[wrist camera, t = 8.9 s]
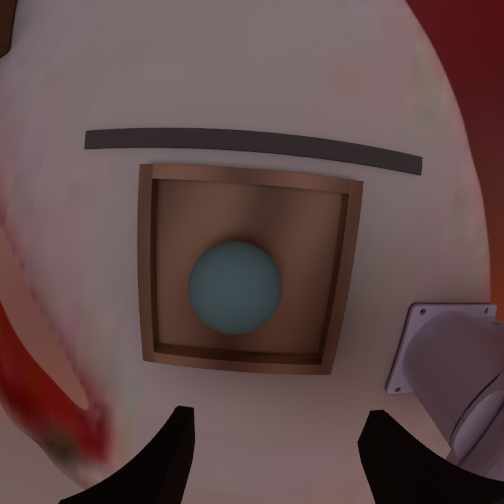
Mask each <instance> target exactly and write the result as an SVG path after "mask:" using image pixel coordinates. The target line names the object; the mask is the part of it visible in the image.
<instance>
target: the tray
mask: <svg viewBox="0 0 504 504" xmlns="http://www.w3.org/2000/svg"><path fill="white" fill-rule="evenodd" d="M362 192H363V181H356V180H349V179H341V178H334V177H326V176H318V175H309V174H300V173H290V172H280V171H269V170H257V169H245V168H230V167H213V166H192V165H161V164H140V171H139V191H138V230H137V252H138V291H139V311H140V326H141V339H142V351H143V361H149V362H156V363H163V364H170V365H178V366H186V367H195V368H204V369H214V370H225V371H238V372H253V373H272V374H309V375H330V374H331V370H332V366H333V362H334V358H335V353H336V349H337V345H338V340H339V336H340V331H341V326H342V321H343V316H344V311H345V306H346V301H347V296H348V290H349V285H350V279H351V273H352V267H353V261H354V254H355V247H356V240H357V233H358V226H359V218H360V210H361V201H362ZM227 241H242V242H247V243H250V244H253V245H255V246H257V247H259V248H260V249H262V250H263V251H265V252H266V253H267V254H268V255H269V256H270V257H271V258H272V260H273V261H274V263H275V264H276V266H277V268H278V271H279V273H280V277H281V282H282V294H281V299H280V302H279V305H278V307H277V309H276V311H275V313H274V314H273V316H272V317H271V318H270V319H269V320H268V321H267V322H266V323H265V324H264V325H263V326H261V327H259V328H258V329H256V330H254V331H251V332H248V333H244V334H226V333H222V332H219V331H217V330H215V329H212V328H211V327H209V326H208V325H206V324H205V323H204V322H203V321H202V320H201V319H200V318H199V317H198V315H197V314H196V312H195V311H194V309H193V307H192V304H191V301H190V298H189V292H188V284H189V277H190V273H191V271H192V268H193V266H194V264H195V263H196V261H197V260H198V258H199V257H200V256H201V255H202V254H203V253H204V252H205V251H207V250H208V249H209V248H211V247H213V246H215V245H217V244H220V243H223V242H227Z"/></svg>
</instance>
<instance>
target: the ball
mask: <svg viewBox="0 0 504 504" xmlns="http://www.w3.org/2000/svg"><path fill="white" fill-rule="evenodd" d="M188 292H189V298H190V301H191V304H192V307H193V309H194V311H195V312H196V314H197V315H198V317H199V318H200V319H201V320H202V321H203V322H204V323H205V324H206V325H208V326H209V327H211V328H212V329H215V330H217V331H219V332H222V333H226V334H244V333H248V332H251V331H254V330H256V329H258V328H259V327H261V326H263V325H264V324H265V323H266V322H267V321H268V320H269V319H270V318H271V317H272V316H273V314H274V313H275V311H276V309H277V307H278V305H279V302H280V299H281V294H282V282H281V277H280V273H279V271H278V268H277V266H276V264H275V263H274V261H273V260H272V258H271V257H270V256H269V255H268V254H267V253H266V252H265V251H263V250H262V249H260V248H259V247H257V246H255V245H253V244H250V243H247V242H242V241H227V242H223V243H220V244H217V245H215V246H213V247H211V248H209V249H208V250H207V251H205V252H204V253H203V254H202V255H201V256H200V257H199V258H198V260H197V261H196V263H195V264H194V266H193V268H192V271H191V273H190V277H189V284H188Z"/></svg>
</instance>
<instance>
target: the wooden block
mask: <svg viewBox="0 0 504 504" xmlns="http://www.w3.org/2000/svg"><path fill="white" fill-rule="evenodd" d="M15 5H16V0H0V57H1V56H2V55H4V54H5V53H7V52H8V50H9V46H10V37H11V29H12V23H13V16H14V10H15Z"/></svg>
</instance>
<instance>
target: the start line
mask: <svg viewBox="0 0 504 504" xmlns="http://www.w3.org/2000/svg"><path fill="white" fill-rule="evenodd" d="M140 147H158V148H201V149H222V150H238V151H252V152H264V153H275V154H286V155H295V156H304V157H312V158H320V159H328V160H335V161H342V162H349V163H356V164H362V165H368V166H374V167H380V168H385V169H391V170H396V171H401V172H407V173H412V174H416V175H421V171H422V157H419V156H414V155H410V154H405V153H401V152H396V151H391V150H386V149H381V148H376V147H371V146H365V145H360V144H354V143H348V142H341V141H335V140H328V139H321V138H313V137H306V136H297V135H288V134H279V133H268V132H256V131H243V130H226V129H203V128H130V129H108V130H92V131H86V135H85V147H84V149H98V148H140Z"/></svg>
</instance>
